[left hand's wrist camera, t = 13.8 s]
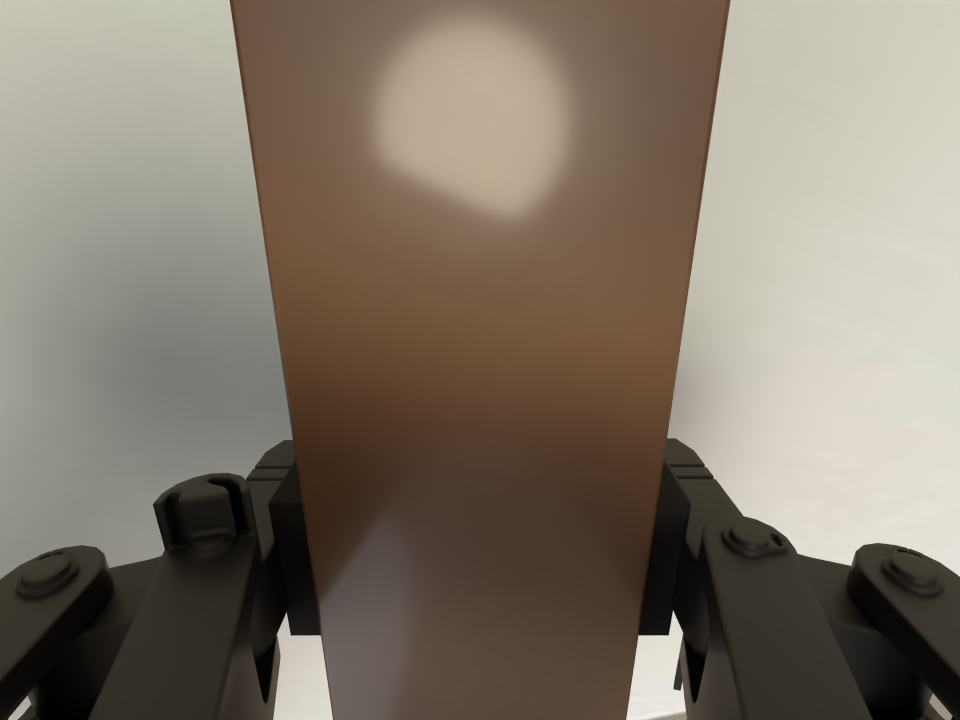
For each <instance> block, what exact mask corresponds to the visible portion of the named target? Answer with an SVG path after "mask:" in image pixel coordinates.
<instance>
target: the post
mask: <svg viewBox="0 0 960 720" xmlns="http://www.w3.org/2000/svg"><path fill="white" fill-rule="evenodd" d="M230 5H231V12H232V19H233V26H234V33H235V40H236V47H237V54H238V61H239V68H240V75H241V82H242V89H243V96H244V103H245V110H246V116H247V123H248V130H249V137H250V144H251V151H252V158H253V165H254V172H255V179H256V186H257V193H258V200H259V207H260V214H261V221H262V228H263V235H264V242H265V249H266V256H267V263H268V270H269V276H270V283H271V290H272V297H273V304H274V311H275V318H276V325H277V332H278V339H279V346H280V353H281V360H282V367H283V374H284V381H285V388H286V395H287V402H288V409H289V416H290V423H291V430H292V437H293V443H294V450H295V457H296V464H297V471H298V478H299V485H300V492H301V499H302V506H303V513H304V520H305V527H306V534H307V541H308V548H309V555H310V562H311V569H312V576H313V583H314V590H315V597H316V604H317V610H318V617H319V624H320V631H321V638H322V645H323V652H324V659H325V666H326V673H327V680H328V687H329V694H330V701H331V708H332V715H333V720H626V717H627V710H628V703H629V696H630V689H631V682H632V675H633V668H634V662H635V655H636V648H637V641H638V634H639V627H640V620H641V613H642V606H643V599H644V592H645V586H646V579H647V572H648V565H649V558H650V551H651V544H652V537H653V530H654V523H655V517H656V510H657V503H658V496H659V489H660V482H661V475H662V468H663V461H664V454H665V448H666V441H667V434H668V427H669V420H670V413H671V406H672V399H673V392H674V385H675V378H676V372H677V365H678V358H679V351H680V344H681V337H682V330H683V323H684V316H685V309H686V303H687V296H688V289H689V282H690V275H691V268H692V261H693V254H694V247H695V240H696V234H697V227H698V220H699V213H700V206H701V199H702V192H703V185H704V178H705V171H706V164H707V158H708V151H709V144H710V137H711V130H712V123H713V116H714V109H715V102H716V95H717V89H718V82H719V75H720V68H721V61H722V54H723V47H724V40H725V33H726V26H727V20H728V13H729V6H730V0H230Z"/></svg>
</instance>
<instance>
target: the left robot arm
mask: <svg viewBox="0 0 960 720" xmlns="http://www.w3.org/2000/svg"><path fill="white" fill-rule="evenodd" d="M153 507H154V510H155V514H156V518H157V521H158V525H159V529H160V533H161V536H162V540H163V544H164V547H165V551H164V553H163V555H162V556H161V557H157V558H154V559H150V560H145V561H141V562H136V563H131V564H127V565H122V566H117V567H113V568H109V567H108V564H107V561H106V558H105V555H104V553H102V552H101V551H100V550H99V549H98V548H96V547H89V546H83V545H82V546H74V547H66V548H61V549H57V550H53V551H52V552H51V551H50V552H47V553H44V554H42V555H39V556H38V557H36V558H34V559H32V560H30V561H28V562H26V563H24V564H22V565H20V566H18V567H17V568H16V569H14V570H13V571H11V572H10V573H9V574H7V575H6V576H4V577H3V578H2V579H1V580H0V720H8V718H9V717H10V716H11V714H12V713H13V712H14V711H15V710H16V709H17V707H18V706H19V705H20V704H21V703H22V701H23V700H24V699H25V698H26V697H27V695H28V698H29V700H30V702H31V706H30V707H29V708H28V709H27V710H26V712H25V713H24V714H23V715H22V716H21V717H20V718H19V719H18V720H273V716H274V707H275V699H276V690H277V682H278V673H279V665H280V649H279V643H278V637H277V633H278V630H279V628H280V626H281V623H282V621H283V619H284V617H285V614H286V612H287V616H288V621H289V627H290V633H291V635H321V631H320V624H319V617H318V610H317V604H316V597H315V590H314V583H313V576H312V569H311V562H310V555H309V548H308V541H307V534H306V527H305V520H304V513H303V506H302V499H301V492H300V485H299V478H298V471H297V464H296V457H295V450H294V443H293V440H284V441H282V442H281V443H279V444H278V445H276V446H275V447H273V448H272V449H270V450H269V451H267V452H266V453H265V454H264V455H263V457H262V458H261V459H260V461H259V462H258V463H257V465H256V466H255V469H253V470H252V471H251V473H250V474H249V475H248V477H247V478H246V480H245V479H244V478H243V477H242V476H239V475H235V474H230V473H214V474H208V475H203V476H199V477H194V478H191V479H189V480H187V481H184V482H182V483H179V484H177V485H175V486H173V487H172V488H170V489H169V490H167V491H166V492H164V493H163V494H161V496H160V497H159V498H158V499H157V500H156V501H155V502H154V504H153ZM673 611H674V613H675V615H676V617H677V620H678V622H679V624H680V627H681V629H682V631H683V637H682V643H681V648H680V653H679V659H678V664H677V669H676V675H675V681H674V688H673V689H675V690H681V685H682V680H683V689H684V697H685V706H686V714H687V720H944V719H943V718H942V717H941V716H940V715H939V714H938V713H937V711H936V710H935V709H934V708H933V707H932V705H931V704H930V703H929V700H930V698H931V696H932V694H933V693H934V695H935V696H936V697H937V698H938V699H939V700H940V702H941V703H942V704H943V705H944V706H945V707H946V709H947V710H948V711H949V712H950V713H951V715H952V716H953V717H952V719H951V720H960V577H959V576H958V575H957V574H955V573H954V572H952V571H951V570H950V569H948V568H947V567H945V566H944V565H943V564H941V563H940V562H938V561H936V560H933V559H931V558H929V557H927V556H925V555H923V554H922V553H920V552H917V551H914V550H912V549H907V548H905V547H901V546H897V545H889V544H881V543H875V544H868V545H863V546H862V547H861V548H860V549H858V550H857V551H856V553H855V556H854V559H853V562H852V565H851V566H848V565H844V564H839V563H834V562H830V561H825V560H820V559H816V558H811V557H807V556H803V555H800V554H797V552H796V550H795V548H794V547H793V545H792V544H791V543H790V541H789V540H788V539H787V537H785V536H784V535H783V534H781V533H780V532H779V531H777V530H776V529H775V528H773V527H771V526H769V525H767V524H765V523H763V522H760V521H758V520H756V519H752V518H748V517H744V516H743V515H742V514H741V512H740V511H739V510H738V508H737V507H736V506H735V504H734V503H733V502H732V500H731V499H730V498H729V496H728V495H727V494H726V492H725V491H724V490H723V488H722V487H721V486H720V484H719V483H718V482H717V480H716V479H714V478H713V475H712V474H711V473H710V471H709V470H708V469H707V467H705V466H704V463H703V462H702V461H701V459H700V458H699V457H698V455H697V454H696V453H695V451H694V450H692V449H691V448H689V447H688V446H686V445H685V444H683V443H682V442H680V441H679V440H677V439H675V438H667V441H666V448H665V454H664V461H663V468H662V475H661V482H660V489H659V496H658V503H657V510H656V517H655V523H654V530H653V537H652V544H651V551H650V558H649V565H648V572H647V579H646V586H645V592H644V599H643V606H642V613H641V620H640V627H639V634H638V635H669V630H670V624H671V619H672V613H673Z"/></svg>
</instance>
